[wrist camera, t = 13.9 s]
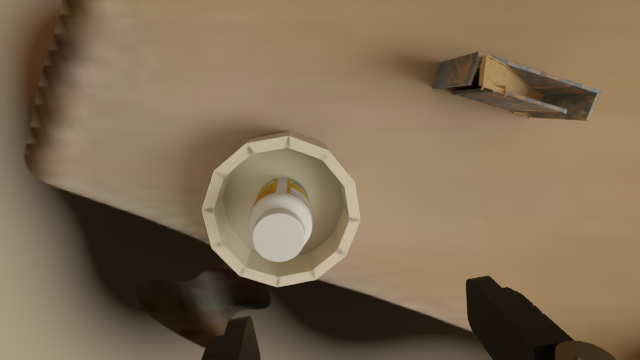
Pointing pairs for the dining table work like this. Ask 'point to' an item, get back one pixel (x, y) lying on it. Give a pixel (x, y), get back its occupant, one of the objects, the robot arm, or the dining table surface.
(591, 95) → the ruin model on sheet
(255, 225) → the supplement bottle
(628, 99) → the dining table surface
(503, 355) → the robot arm
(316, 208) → the bowl
